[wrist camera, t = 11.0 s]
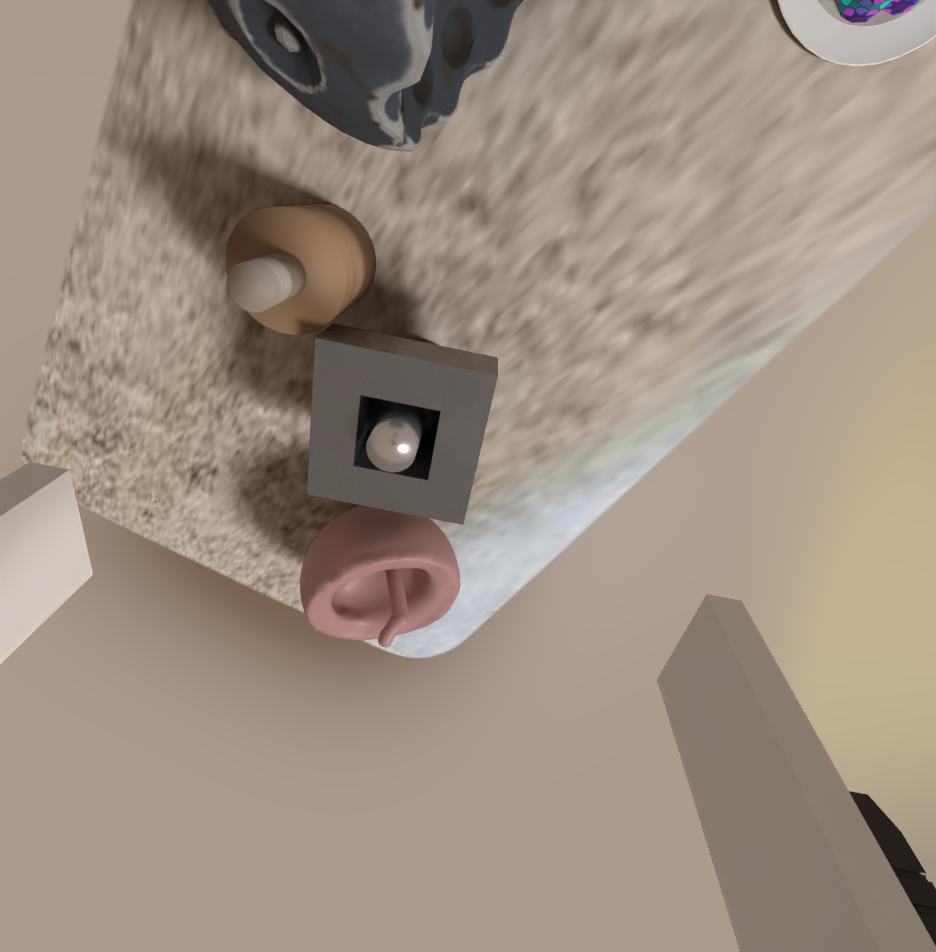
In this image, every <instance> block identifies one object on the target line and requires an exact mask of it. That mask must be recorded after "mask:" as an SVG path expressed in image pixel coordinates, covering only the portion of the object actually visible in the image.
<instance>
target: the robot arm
mask: <svg viewBox="0 0 936 952" xmlns="http://www.w3.org/2000/svg"><path fill="white" fill-rule="evenodd" d="M92 575H93V573H92V568H91V564H90V559H89V555H88V550H87V546H86V541H85V537H84V532H83V528H82V524H81V519H80V515H79V510H78V506H77V501H76V497H75V492H74V488H73V484H72V479H71V475H70V470H68V469H63V468H58V467H53V466H48V465H42V464H37V463H32V462H29V463H27V464H26V465H24V466H22V467H21V468H19V469H17V470H16V471H14V472H12V473H11V474H9V475H7V476H6V477H4V478H3V479H1V480H0V664H1V663H2V662H3V661H4V660H5V659H6V658H7V657H8V656H9V655H10V654H11V653H12V652H13V651H14V650H15V649H16V648H17V647H18V646H19V645H21V644H22V643H23V642H24V641H25V640H26V639H27V638H28V637H29V636H30V635H31V634H32V633H33V632H34V631H35V630H36V629H37V628H38V627H39V626H40V625H41V624H42V623H43V622H44V621H45V620H46V619H47V618H48V617H49V616H51V614H52V613H53V612H55V611H56V610H57V609H58V608H59V607H60V606H61V605H62V604H63V603H64V602H65V601H66V600H67V599H68V598H69V597H70V596H71V595H72V594H73V593H74V592H75V591H76V590H77V589H78V588H79V587H80V586H81V585H82V584H84V582H86V581H87V579H89V578H90V577H91V576H92ZM657 681H658V684H659V687H660V691H661V694H662V697H663V701H664V704H665V707H666V710H667V714H668V717H669V720H670V723H671V727H672V730H673V733H674V737H675V739H676V743H677V746H678V750H679V753H680V756H681V759H682V763H683V766H684V769H685V772H686V776H687V779H688V782H689V786H690V789H691V792H692V795H693V798H694V802H695V805H696V808H697V812H698V815H699V818H700V822H701V825H702V828H703V831H704V835H705V838H706V841H707V844H708V848H709V851H710V854H711V858H712V861H713V864H714V867H715V871H716V874H717V877H718V880H719V884H720V887H721V890H722V894H723V897H724V900H725V903H726V907H727V910H728V913H729V916H730V920H731V923H732V926H733V930H734V933H735V936H736V939H737V943H738V946H739V949H740V952H936V889H935V887H934V885H933V884H932V882H928V881H927V880H926V872H925V871H924V869H923V867H922V866H921V864H920V862H919V861H918V859H917V857H916V856H915V854H914V852H913V851H912V849H911V847H910V846H909V844H908V843H907V841H906V839H905V838H904V836H903V834H902V833H901V831H900V830H899V829H898V828H897V827H896V826H895V825H894V824H893V822H892V821H891V820H890V819H889V818H888V817H887V816H886V815H885V813H884V812H883V811H882V810H881V809H880V808H879V807H878V806H877V804H875V802H874V801H873V800H872V799H871V798H870V797H869V796H868V795H867V794H861V793H855V792H850V791H848V789H847V788H846V786H845V784H844V782H843V781H842V779H841V777H840V775H839V773H838V771H837V770H836V768H835V766H834V764H833V763H832V761H831V759H830V758H829V755H828V754H827V752H826V750H825V748H824V747H823V745H822V743H821V741H820V739H819V738H818V736H817V734H816V733H815V731H814V729H813V727H812V725H811V723H810V722H809V720H808V718H807V716H806V714H805V713H804V711H803V709H802V708H801V706H800V704H799V702H798V700H797V698H796V697H795V695H794V693H793V691H792V690H791V688H790V686H789V684H788V682H787V681H786V679H785V677H784V676H783V674H782V672H781V670H780V668H779V667H778V665H777V663H776V661H775V659H774V658H773V656H772V654H771V652H770V650H769V649H768V647H767V645H766V643H765V642H764V640H763V638H762V636H761V634H760V633H759V631H758V629H757V627H756V626H755V624H754V622H753V620H752V618H751V617H750V615H749V613H748V611H747V609H746V608H745V606H744V604H743V602H742V601H739V600H734V599H729V598H723V597H719V596H713V595H708V594H707V595H706V596H705V598H704V600H703V602H702V603H701V605H700V607H699V608H698V610H697V612H696V614H695V616H694V617H693V619H692V620H691V622H690V624H689V626H688V627H687V629H686V631H685V633H684V634H683V636H682V638H681V639H680V641H679V643H678V645H677V646H676V648H675V650H674V651H673V653H672V655H671V656H670V658H669V660H668V662H667V663H666V665H665V667H664V669H663V670H662V672H661V674H660V676H659V677H658V679H657Z"/></svg>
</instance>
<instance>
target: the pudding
mask: <svg viewBox="0 0 936 952" xmlns="http://www.w3.org/2000/svg"><path fill="white" fill-rule="evenodd" d="M919 1H920V0H837V2H838V7H839V11H840V15H841V17H843V18H845V19H846V20H848V21H850V22H852V23H854V22H866V21H868V20H869V19H870V18H872V17H873V16H874V15H875V14H877V13H878V12H879V11H881V10H883V11H885V12H887V13H890V14H892V15H897V14H899V13H902V12H905V11H907V10H910V9H911V8H912V7H913V6H914V5H915V4H917V3H918V2H919ZM778 3H779V6H780V9H781V12H782V15H783V17H784V19H785V21H786V23H787V24H788V26H789V28H790V30H791V31H792V33H793V35H794V36H795V37H796V38H797V39H798V40H799V41H800V42H801V43H802V44H803V46H804V47H805V48H806V49H808V50H809V51H811V52H812V53H814V54H816V55H817V56H819V57H820V58H822V59H825V60H828V61H830V62H833V63H836V64H840V65H850V66H864V65H873V64H879V63H883V62H886V61H889V60H892V59H896V58H899V57H901V56H903V55H905V54H907V53H909V52H911V51H913V50H915V49H917V48H919V47H921V46H923V45H924V44H926V43H927V42H929V41H930V40H931V39H933V38H934V37H936V0H926V1H925V2H923V3H922V4H920V5H919V6H917V7H916V8H915V9H913V10H912V11H910V12H909V13H907V14H905V15H903V16H901V17H899V18H897V19H895V20H892V21H889V22H886V23H883V24H880V25H873V26H855V25H849V24H847V23H844V22H841V21H838V20H837V19H835V18H834V17H833V16H831V15H830V14H828V13H827V12H826V11H825V9H824V8H823V7H822V6H821V5H820V4H819V2H818V0H778Z"/></svg>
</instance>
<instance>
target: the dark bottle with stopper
mask: <svg viewBox="0 0 936 952" xmlns="http://www.w3.org/2000/svg"><path fill="white" fill-rule="evenodd" d="M410 340H415V341H420V342H424V343H429V344H434V345H437V344H435V343H432V342H429V341H426V340H420V339H410ZM440 413H441V411H437V410H432V409H427V408H422V407H417V406H412V405H407V404H402V403H397V402H392V401H388V400H383V399H378V398H373V397H371V401H370V410H369V419H368V428H367V437H366V442H367V444H366V451H367V455H368V457H369V459H370V461H371V462H372V463H373V464H374V465H375V466H376V467H378V468H379V469H381V470H384V471H387V472H399V471H403V470H405V469H407V468H408V467H409V466H410V465H411V464H412V463H413V461H414V459H415V456H416V453H417V452H422V453H427V454H432V455H433V451H434V445H435V440H436V434H437V429H438V423H439V418H440Z"/></svg>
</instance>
